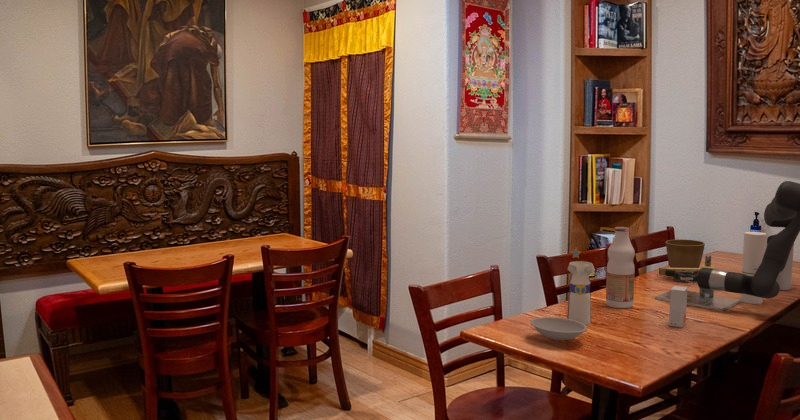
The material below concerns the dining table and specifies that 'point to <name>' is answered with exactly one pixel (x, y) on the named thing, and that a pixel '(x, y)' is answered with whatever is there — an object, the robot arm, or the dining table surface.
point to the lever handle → (663, 269)
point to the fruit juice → (620, 271)
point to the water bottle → (580, 290)
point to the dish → (558, 327)
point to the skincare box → (678, 306)
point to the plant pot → (684, 253)
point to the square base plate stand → (704, 297)
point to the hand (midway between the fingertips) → (666, 272)
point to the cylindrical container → (752, 259)
